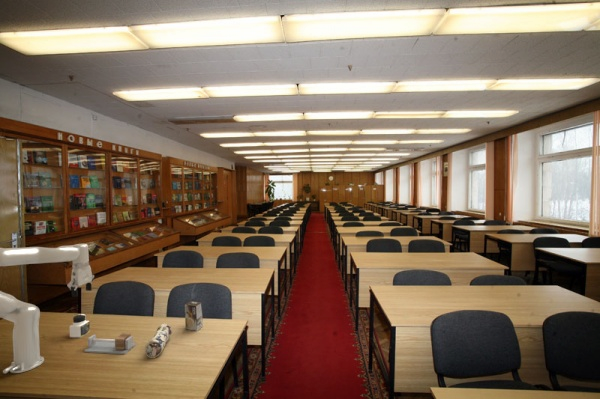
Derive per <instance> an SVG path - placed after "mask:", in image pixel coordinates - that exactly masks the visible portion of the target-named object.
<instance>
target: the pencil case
mask: <svg viewBox="0 0 600 399" xmlns="http://www.w3.org/2000/svg"><path fill="white" fill-rule="evenodd" d="M172 333H173V329H172V326H170V325H169V324H167V323H166V322H165V323H162V324H161V325H160V326H158V327H157V328H156V332H155V334H154V336H153V337H152V339H151V340H148V342H147V344H146V345H145V355H146V356H147V357H148V358H149V359H155V358H157V357H159V356H160V355H161V354H162V352H163V350H164V348H165V346H166V345H167V343H168V341H169V339H170V338H171V335H172Z"/></svg>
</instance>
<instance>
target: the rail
mask: <svg viewBox="0 0 600 399" xmlns="http://www.w3.org/2000/svg"><path fill="white" fill-rule="evenodd" d="M136 346H137V343H134V336H132V335H131V336H130V337H129V338H127V339H126V340H125V349H124V350H116V349H115V338H113V339H112V338H111V339H110V338H97V335H96V334H92V335H91V336H89V337H87V348H85V349H84V350H83V351H84V353H92V354H111V355H113V354H114V355H126V354H127V353H128V352H130V351H131V350H132V349H133V348H134V347H136Z"/></svg>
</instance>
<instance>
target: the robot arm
mask: <svg viewBox="0 0 600 399" xmlns="http://www.w3.org/2000/svg"><path fill="white" fill-rule="evenodd" d="M89 256H90V254H89V245H88V244H87V243H77V244H73V245H60V246H58V247H43V246H29V247H28V246H27V247H9V248H7V247H5V248H4V247H0V267H8V266H9V267H10V266H19V265H20V266H22V265H29V264H31V265H32V264H49V263H63V262H64V263H65V262H72V266H71V267H72V270H71V277H70V278H71V279H70V281H69V283H67V284H66V285H67V287H68V289H69V291H71V297H72V298H73V297H74V298H77V297H78V295H79V293H78V287H81V286H84V285H85V291H87V292H88V291H92V290H93V289H92V284H93V281H94V278H95V274H93V273H92V268H91V265H90V260H89ZM40 316H41V311H40V308H39V307H38V306H36V305H35V304H32V303H28V302H24V301H22V300H19V299H17V298H16V297H15V296H14V295H12V294H9V293H6V292H3V291H2V290H0V318H1V319H4V320H7V321H9V322H12V323H13V324H14V325H13V330H12V347H13V348H12V349H13V361H11V364H10V365H9V366H8V367H5V369H3V370H2V373H3V374H7V373H8V372H10V373H11V374H19V373H25V372H28V371H30V370H33V369H35V368H37V367H39V366H40V365H42V364H43V363H44V362H45V358H44V356H41V352H40V332H39V326H40V325H39V323H40Z"/></svg>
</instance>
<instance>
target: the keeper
mask: <svg viewBox="0 0 600 399" xmlns="http://www.w3.org/2000/svg"><path fill="white" fill-rule="evenodd" d="M130 336H132V333H128V332H127V333H125V332H123V333H121V334H119V335H118V336H116V337H115V338H114V339H115V349H116V350H124V349H125V340H126V339H127V338H129V337H130Z"/></svg>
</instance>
